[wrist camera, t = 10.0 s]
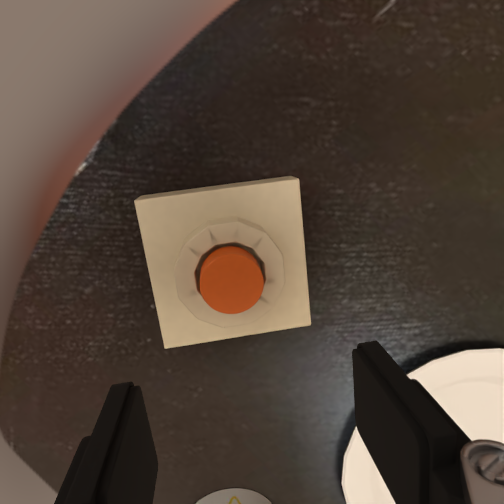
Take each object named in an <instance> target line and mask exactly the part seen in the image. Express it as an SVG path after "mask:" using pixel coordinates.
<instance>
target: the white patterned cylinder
mask: <svg viewBox="0 0 504 504" xmlns="http://www.w3.org/2000/svg"><path fill="white" fill-rule="evenodd" d="M196 504H272V503H271V502H270V501H269V500H268V499H267V498H266V497H264V496H263V495H261V494H259V493H257V492H255V491H252V490H248V489H241V488H231V489H224V490H220V491H216V492H213V493H211V494H209V495H207V496H205V497H203V498H202V499H200V500H199V501H198V502H197V503H196Z"/></svg>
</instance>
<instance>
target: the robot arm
mask: <svg viewBox="0 0 504 504" xmlns="http://www.w3.org/2000/svg"><path fill="white" fill-rule="evenodd" d="M352 359H353V379H354V399H355V419H356V426H357V429H358V432H359V434H360V436H361V438H362V440H363V442H364V444H365V446H366V448H367V450H368V452H369V454H370V455H371V457H372V459H373V461H374V463H375V465H376V467H377V469H378V471H379V473H380V475H381V477H382V478H383V480H384V482H385V484H386V486H387V488H388V490H389V492H390V494H391V496H392V498H393V499H394V501H395V503H396V504H504V443H501V442H498V441H493V440H489V439H478V440H473V441H471V440H470V438H469V437H468V436H467V435H466V434H465V433H464V432H463V431H462V429H461V428H460V427H459V426H458V425H457V424H456V423H455V422H454V420H453V419H452V418H451V417H450V416H449V415H448V414H447V413H446V411H445V410H444V409H443V408H442V407H441V406H440V405H439V404H438V402H437V401H436V400H435V399H434V398H433V397H432V396H431V395H430V393H429V392H428V391H427V390H426V389H425V388H424V387H423V386H422V384H421V383H420V382H418V381H417V380H416V379H410V378H409V377H408V376H407V375H406V374H405V373H404V371H403V370H402V369H401V368H400V367H399V366H398V364H397V363H396V362H395V361H394V360H393V359H392V357H391V356H390V355H389V354H388V353H387V352H386V351H385V349H384V348H383V347H382V346H381V345H380V344H379V342H377V341H371V342H365V343H359V344H358V346H357V349H353V351H352ZM157 471H158V461H157V455H156V451H155V446H154V442H153V438H152V434H151V430H150V425H149V421H148V417H147V413H146V408H145V404H144V400H143V396H142V391H141V388H140V386H134V384H133V382H127V383H121V384H115V385H112V386H111V388H110V390H109V393H108V395H107V398H106V400H105V403H104V405H103V408H102V410H101V413H100V415H99V418H98V420H97V423H96V425H95V428H94V430H93V433H92V435H91V436H87V437H84V438H83V439H82V441H81V442H80V444H79V447H78V449H77V451H76V454H75V456H74V458H73V461H72V463H71V465H70V468H69V470H68V472H67V475H66V477H65V479H64V482H63V484H62V486H61V489H60V491H59V493H58V496H57V498H56V501H55V503H54V504H153V497H154V491H155V484H156V478H157Z"/></svg>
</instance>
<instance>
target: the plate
mask: <svg viewBox="0 0 504 504" xmlns="http://www.w3.org/2000/svg"><path fill="white" fill-rule="evenodd" d="M406 375H407V376H408V377H409V378H410V379H416V380H417V381H418V382H420V383H421V384H422V386H423V387H424V388H425V389H426V390H427V391H428V392H429V393H430V395H431V396H432V397H433V398H434V399H435V400H436V401H437V402H438V404H439V405H440V406H441V407H442V408H443V409H444V410H445V411H446V413H447V414H448V415H449V416H450V417H451V418H452V419H453V420H454V422H455V423H456V424H457V425H458V426H459V427H460V428H461V429H462V431H463V432H464V433H465V434H466V435H467V436H468V437H469V438H470V440H471V441H473V440H478V439H489V440H493V441H498V442H501V443H504V349H503V348H499V347H496V348H478V349H464V350H461V351H458V352H454V353H451V354H447V355H444V356H441V357H437V358H434V359H431V360H429V361H428V362H426V363H424V364H422V365H420V366H418V367H417V368H415V369H413V370H411V371H409V372H408V373H406ZM341 484H342V488H343V492H344V496H345V500H346V504H396V503H395V501H394V499H393V498H392V496H391V494H390V492H389V490H388V488H387V486H386V484H385V482H384V480H383V478H382V477H381V475H380V473H379V471H378V469H377V467H376V465H375V463H374V461H373V459H372V457H371V455H370V454H369V452H368V450H367V448H366V446H365V444H364V442H363V440H362V438H361V436H360V434H359V432H358V429H357V426H356V425H355V427H354V429H353V432H352V434H351V437H350V439H349V442H348V444H347V447H346V449H345V452H344V454H343V465H342V476H341Z"/></svg>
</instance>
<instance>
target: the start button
mask: <svg viewBox="0 0 504 504" xmlns="http://www.w3.org/2000/svg"><path fill="white" fill-rule="evenodd" d="M263 288H264V279H263V274H262V272H261V269H260V267H259V264H258V262H257V260H256V259H255V257H254V256H253V255H252V254H251V253H249V252H248V251H247V250H245V249H243V248H240V247H235V246H227V247H222V248H219V249H217V250H215V251H213V252H212V253H211V254H210V255H209V256H208V257H207V258H206V259H205V261H204V262H203V264H202V267H201V271H200V291H201V295H202V297H203V299H204V301H205V302H206V303H207V304H208V305H209V306H210V307H211V308H212V309H214V310H216V311H218V312H221V313H225V314H237V313H241V312H244V311H246V310H248V309H250V308H251V307H252V306H253V305H255V304H256V302H257V301H258V300H259V298H260V297H261V294H262V292H263Z"/></svg>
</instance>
